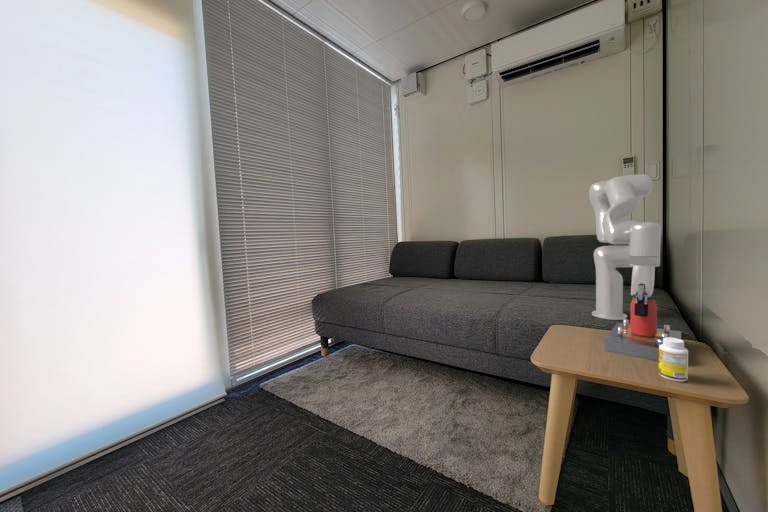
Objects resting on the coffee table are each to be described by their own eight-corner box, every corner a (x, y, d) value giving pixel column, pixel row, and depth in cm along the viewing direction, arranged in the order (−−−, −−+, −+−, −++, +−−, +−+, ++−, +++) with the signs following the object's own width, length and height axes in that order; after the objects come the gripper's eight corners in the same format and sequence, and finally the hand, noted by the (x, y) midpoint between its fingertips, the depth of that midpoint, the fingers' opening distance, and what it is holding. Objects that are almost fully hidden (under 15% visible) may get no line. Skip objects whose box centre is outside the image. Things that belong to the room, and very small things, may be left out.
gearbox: (618, 330, 114) (619, 313, 114) (681, 340, 102) (681, 321, 101) (604, 350, 97) (604, 329, 97) (677, 365, 85) (677, 341, 84)
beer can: (646, 330, 101) (646, 295, 101) (662, 337, 95) (662, 300, 94) (625, 330, 102) (625, 296, 101) (640, 337, 95) (640, 300, 95)
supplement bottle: (665, 370, 82) (665, 334, 81) (692, 379, 77) (693, 341, 76) (653, 375, 80) (654, 338, 79) (681, 384, 75) (682, 345, 74)
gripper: (633, 257, 105) (632, 305, 107) (625, 263, 94) (624, 316, 95) (662, 258, 100) (660, 308, 101) (657, 265, 88) (655, 321, 90)
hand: (643, 312), depth 98 cm, fingers open, 9 cm apart
